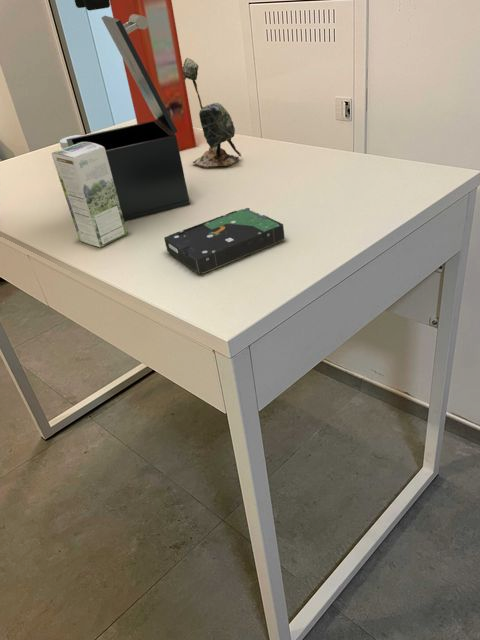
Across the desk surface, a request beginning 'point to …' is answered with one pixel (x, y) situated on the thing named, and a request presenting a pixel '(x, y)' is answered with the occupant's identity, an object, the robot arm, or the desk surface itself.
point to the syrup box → (90, 193)
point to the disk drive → (224, 239)
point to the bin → (143, 167)
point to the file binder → (158, 63)
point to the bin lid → (138, 64)
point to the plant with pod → (212, 126)
